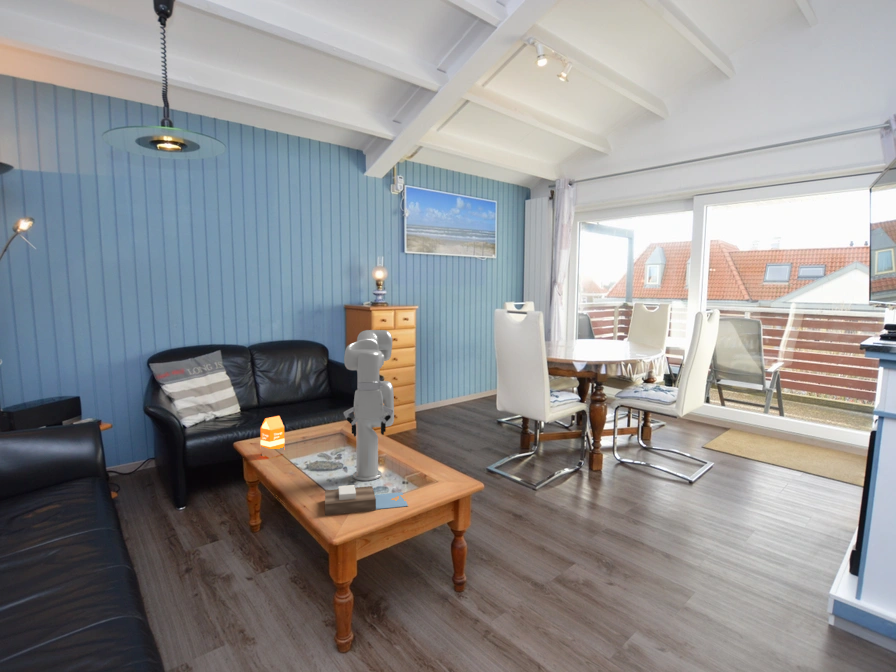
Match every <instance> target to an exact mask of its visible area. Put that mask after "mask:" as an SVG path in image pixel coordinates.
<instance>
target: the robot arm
mask: <svg viewBox="0 0 896 672" xmlns="http://www.w3.org/2000/svg"><path fill="white" fill-rule="evenodd" d="M392 351H393V337H392V334H391V332H390V331H389V330H385V329H370V330H369V329H366V330H363V331H361V332H359V334H358V335H357V338H356V341H355V342H352V343H350V344H348V345H347V346H346V348H345V351H344V356H343V358H344V359H343V361H344V366H345V368H346V370H349V371H356V372H357V389H356V390H355V392H354V396H353V397H354V399H353V407H350V408H349V409H347V410H345V411H343V416H344V418H345V420H346V422H348V423H349V424H351V434H352V435H353V437H355V438H356V440H355V442H356V444H355V445H356V446H355V447H356V449H355V450H356V452H355V453H356V456H355V457H356V467H355V468H356V471H354V472H353V473H352V478H354V480H357V481H366V482H367V481H368V482H369V481H374V480H377V479H380V478H381V477H382V475H383V474H382V471H380V470H379V437H378V434H377V432H376V430H374V429H373V428H380V434H381V435H382V436H384V435H385V433H386V430H387V429H386V427H391V426H392V425H393V424H394V422H395V421H394V420H395V403H394V402H395V399H394V396H395V395H394V386H393V383H391V381H388V380H380V369H382V368H383V366H384V363H385V362H387V361H389V360H390V358H391V356H392ZM351 413H353V418H351V417H350V414H351Z"/></svg>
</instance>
